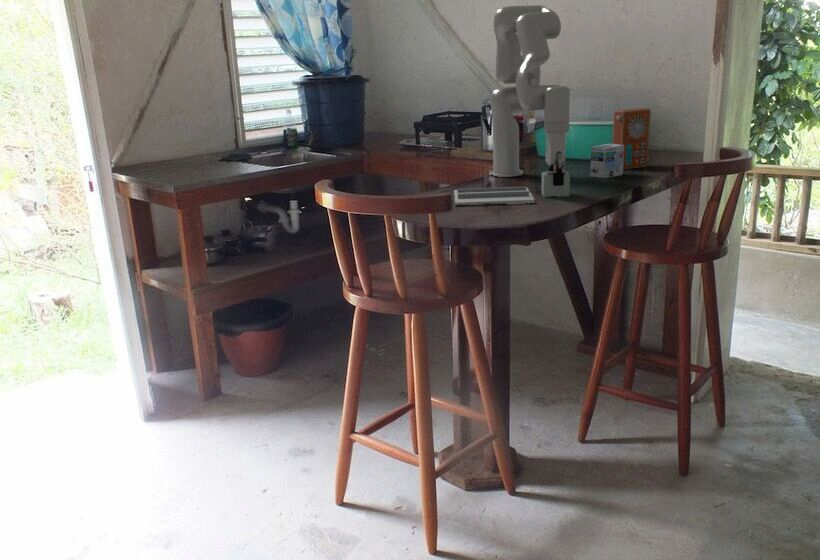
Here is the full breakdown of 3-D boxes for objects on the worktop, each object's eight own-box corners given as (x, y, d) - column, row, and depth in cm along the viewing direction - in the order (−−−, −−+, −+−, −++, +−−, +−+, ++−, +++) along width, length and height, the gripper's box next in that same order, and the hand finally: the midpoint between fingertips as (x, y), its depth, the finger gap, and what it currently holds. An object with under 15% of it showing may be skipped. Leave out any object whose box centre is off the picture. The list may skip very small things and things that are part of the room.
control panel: (651, 166, 262) (618, 170, 257) (639, 164, 268) (607, 168, 263) (654, 108, 255) (621, 111, 250) (642, 107, 262) (609, 110, 256)
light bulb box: (604, 178, 242) (605, 147, 239) (589, 176, 248) (590, 146, 244) (623, 174, 248) (625, 144, 245) (608, 172, 254) (609, 143, 250)
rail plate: (454, 193, 229) (453, 185, 229) (526, 190, 228) (527, 183, 227) (455, 206, 210) (454, 197, 210) (534, 203, 209) (534, 195, 208)
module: (541, 194, 223) (541, 171, 220) (566, 193, 222) (567, 170, 220) (543, 197, 218) (543, 173, 216) (569, 196, 217) (569, 172, 215)
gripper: (540, 125, 222) (540, 179, 227) (548, 131, 205) (547, 188, 210) (564, 124, 221) (563, 178, 226) (574, 129, 205) (572, 187, 210)
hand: (555, 182), depth 218 cm, fingers open, 9 cm apart
